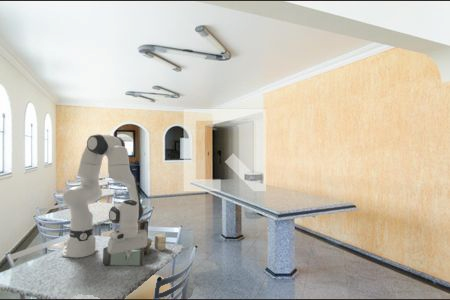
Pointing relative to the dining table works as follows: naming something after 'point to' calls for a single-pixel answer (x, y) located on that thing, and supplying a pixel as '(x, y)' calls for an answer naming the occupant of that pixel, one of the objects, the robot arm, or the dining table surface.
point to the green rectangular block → (123, 258)
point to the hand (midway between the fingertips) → (127, 259)
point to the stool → (149, 243)
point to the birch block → (160, 242)
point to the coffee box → (143, 225)
